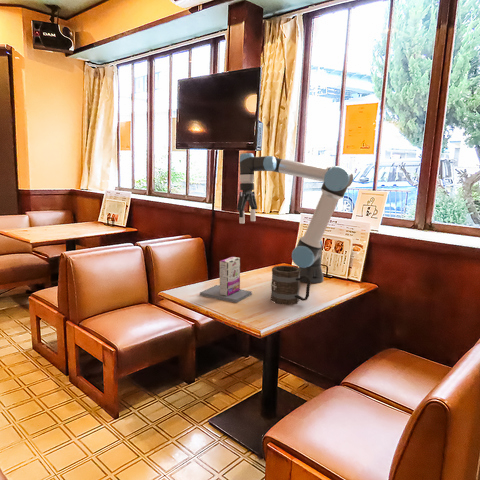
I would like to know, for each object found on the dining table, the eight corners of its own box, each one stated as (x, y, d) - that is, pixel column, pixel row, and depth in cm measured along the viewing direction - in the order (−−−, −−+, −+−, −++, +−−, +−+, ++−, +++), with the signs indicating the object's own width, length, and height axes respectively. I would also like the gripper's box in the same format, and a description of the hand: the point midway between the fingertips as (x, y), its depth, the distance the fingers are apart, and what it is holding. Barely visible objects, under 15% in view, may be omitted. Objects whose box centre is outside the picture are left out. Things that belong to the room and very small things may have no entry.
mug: (264, 300, 188) (265, 268, 186) (281, 293, 198) (282, 264, 196) (300, 310, 176) (302, 277, 173) (316, 303, 186) (318, 271, 183)
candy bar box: (231, 289, 199) (232, 256, 196) (240, 290, 197) (240, 257, 194) (218, 294, 190) (219, 260, 187) (227, 296, 187) (228, 262, 184)
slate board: (251, 294, 196) (251, 291, 196) (236, 302, 183) (236, 299, 183) (216, 287, 205) (216, 285, 205) (199, 295, 192) (199, 292, 192)
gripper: (250, 182, 230) (251, 220, 233) (229, 183, 208) (230, 224, 211) (262, 182, 227) (263, 220, 229) (242, 182, 205) (243, 224, 207)
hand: (247, 222), depth 220 cm, fingers open, 13 cm apart
